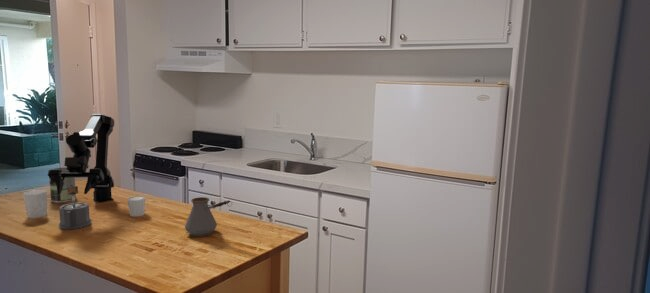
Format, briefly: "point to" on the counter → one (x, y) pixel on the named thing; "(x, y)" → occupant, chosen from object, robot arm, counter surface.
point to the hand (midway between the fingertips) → (71, 194)
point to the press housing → (74, 217)
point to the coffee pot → (202, 217)
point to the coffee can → (64, 193)
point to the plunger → (73, 198)
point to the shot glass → (136, 206)
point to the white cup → (36, 203)
